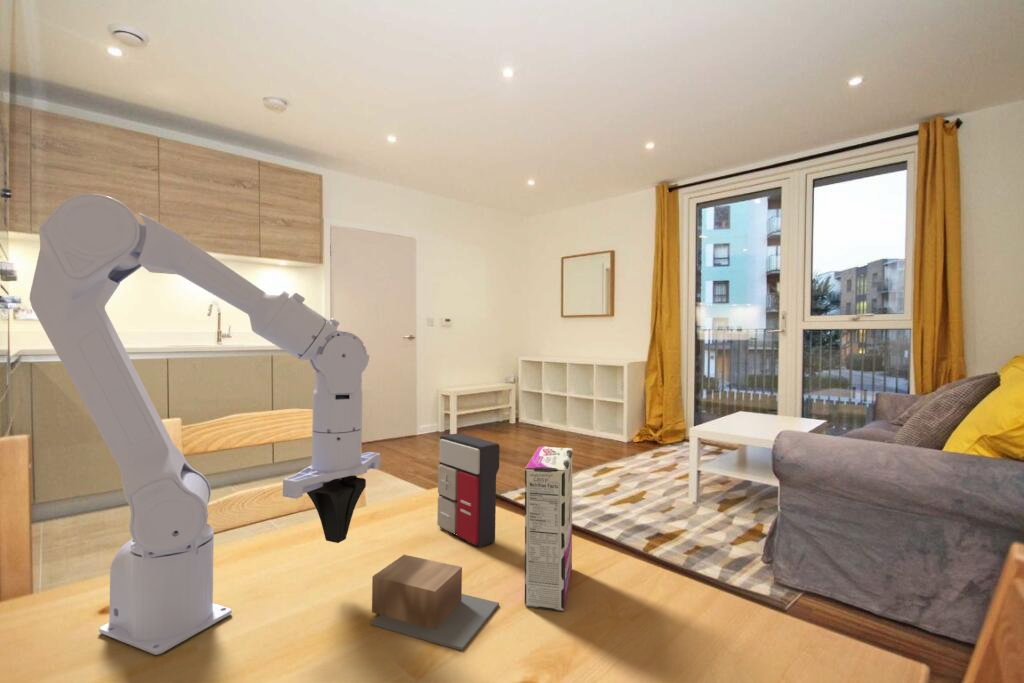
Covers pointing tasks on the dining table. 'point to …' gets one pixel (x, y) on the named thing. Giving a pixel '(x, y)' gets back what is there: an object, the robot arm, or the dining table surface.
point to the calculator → (468, 487)
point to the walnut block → (417, 591)
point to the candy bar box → (548, 528)
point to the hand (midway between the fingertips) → (335, 539)
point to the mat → (447, 623)
